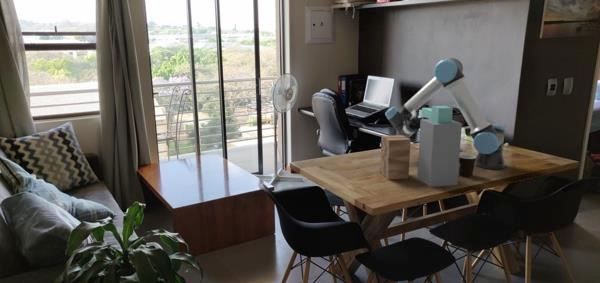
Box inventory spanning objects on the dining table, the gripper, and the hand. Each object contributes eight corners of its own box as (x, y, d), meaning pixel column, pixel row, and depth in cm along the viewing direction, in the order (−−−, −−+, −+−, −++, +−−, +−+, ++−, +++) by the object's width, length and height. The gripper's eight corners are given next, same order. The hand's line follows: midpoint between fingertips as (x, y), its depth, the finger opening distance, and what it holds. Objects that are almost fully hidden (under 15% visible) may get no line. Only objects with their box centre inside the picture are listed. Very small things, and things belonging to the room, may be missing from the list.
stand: (417, 178, 225) (420, 119, 219) (443, 176, 228) (447, 118, 221) (429, 186, 212) (433, 124, 205) (457, 185, 214) (461, 123, 207)
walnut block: (380, 173, 234) (381, 135, 229) (400, 171, 236) (401, 134, 231) (387, 179, 223) (389, 140, 219) (408, 178, 225) (410, 139, 221)
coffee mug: (472, 178, 223) (474, 159, 221) (454, 176, 228) (456, 157, 226) (477, 173, 233) (478, 154, 231) (460, 170, 237) (461, 152, 235)
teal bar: (418, 115, 229) (419, 102, 227) (431, 115, 230) (432, 101, 228) (437, 123, 209) (438, 108, 207) (451, 122, 210) (452, 107, 208)
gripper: (434, 131, 246) (452, 117, 226) (391, 133, 242) (405, 119, 222) (432, 118, 248) (449, 104, 228) (389, 120, 244) (403, 105, 224)
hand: (427, 111), depth 225 cm, fingers open, 13 cm apart
